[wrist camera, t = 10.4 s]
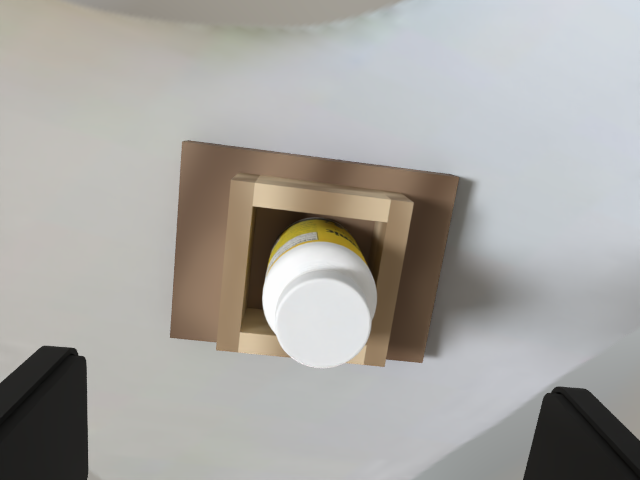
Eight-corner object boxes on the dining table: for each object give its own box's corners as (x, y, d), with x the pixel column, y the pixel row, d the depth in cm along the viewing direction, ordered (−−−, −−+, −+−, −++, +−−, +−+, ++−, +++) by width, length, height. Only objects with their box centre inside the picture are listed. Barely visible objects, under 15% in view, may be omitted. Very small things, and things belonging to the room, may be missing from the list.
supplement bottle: (375, 275, 30) (410, 350, 20) (297, 315, 30) (296, 407, 21) (334, 198, 28) (351, 238, 19) (253, 241, 29) (230, 302, 19)
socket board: (451, 174, 30) (481, 185, 25) (416, 352, 33) (437, 392, 28) (188, 140, 29) (165, 145, 24) (176, 327, 32) (153, 365, 27)
